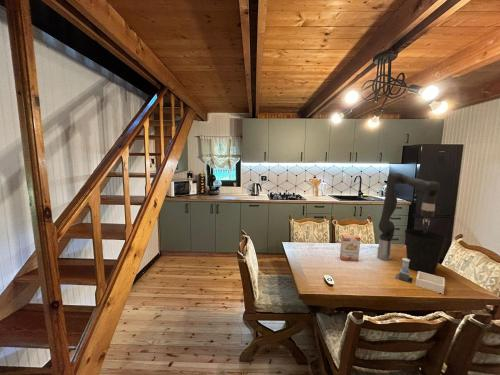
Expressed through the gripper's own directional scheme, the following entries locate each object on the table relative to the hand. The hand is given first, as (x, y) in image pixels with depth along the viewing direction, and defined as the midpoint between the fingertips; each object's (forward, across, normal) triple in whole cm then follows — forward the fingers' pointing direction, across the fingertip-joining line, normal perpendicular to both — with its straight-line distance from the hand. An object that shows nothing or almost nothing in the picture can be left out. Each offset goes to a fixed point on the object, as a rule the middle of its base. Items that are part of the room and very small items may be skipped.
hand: (425, 231), depth 172 cm
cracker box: (+36, +1, -49) cm, 61 cm away
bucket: (+36, -19, 0) cm, 40 cm away
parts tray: (+35, +10, +6) cm, 37 cm away
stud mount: (+35, +10, -9) cm, 38 cm away
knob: (+35, +10, -9) cm, 37 cm away
